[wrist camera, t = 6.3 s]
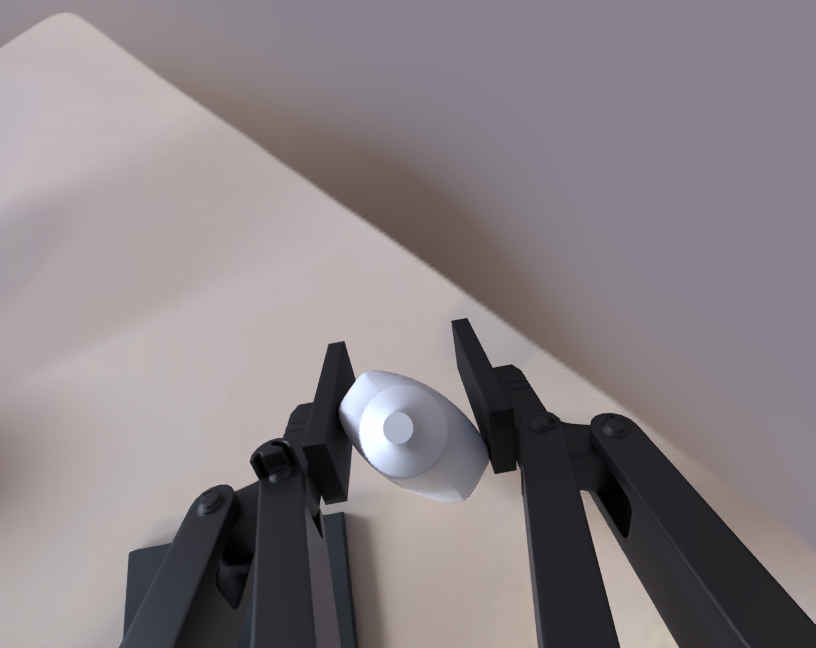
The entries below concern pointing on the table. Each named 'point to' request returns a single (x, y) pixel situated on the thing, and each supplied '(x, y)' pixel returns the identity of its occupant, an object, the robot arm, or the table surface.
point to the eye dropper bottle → (414, 436)
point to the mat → (150, 559)
